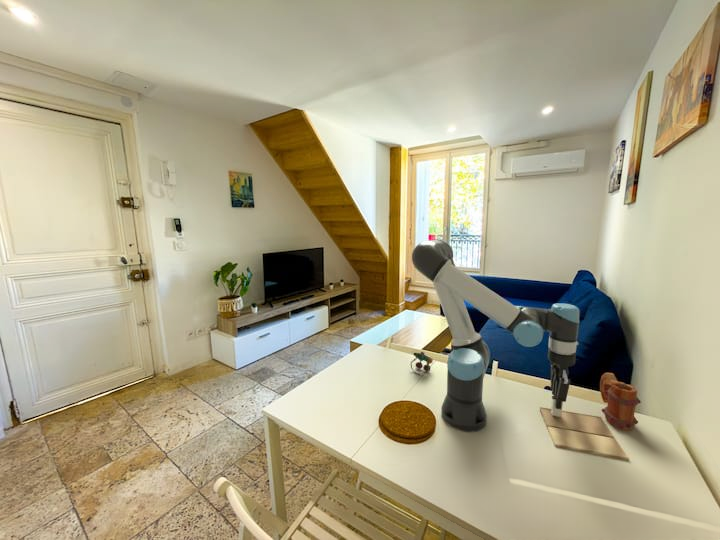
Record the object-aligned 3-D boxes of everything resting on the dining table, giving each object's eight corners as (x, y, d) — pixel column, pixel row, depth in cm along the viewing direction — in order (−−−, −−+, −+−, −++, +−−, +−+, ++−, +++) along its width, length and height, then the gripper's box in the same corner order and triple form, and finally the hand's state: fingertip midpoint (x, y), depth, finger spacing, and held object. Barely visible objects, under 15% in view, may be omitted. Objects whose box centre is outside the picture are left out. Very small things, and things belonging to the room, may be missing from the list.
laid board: (554, 448, 88) (554, 443, 88) (546, 430, 96) (547, 425, 95) (628, 463, 82) (628, 458, 82) (613, 442, 90) (614, 437, 90)
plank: (546, 429, 96) (547, 425, 96) (539, 410, 104) (540, 407, 104) (613, 441, 90) (613, 436, 90) (600, 420, 99) (600, 416, 98)
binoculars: (430, 378, 133) (436, 357, 135) (422, 375, 126) (428, 352, 129) (412, 372, 139) (418, 351, 142) (404, 368, 132) (410, 347, 135)
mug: (643, 436, 92) (649, 393, 89) (613, 433, 94) (619, 390, 91) (613, 408, 106) (618, 369, 104) (587, 405, 108) (592, 368, 105)
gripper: (583, 360, 89) (576, 429, 92) (568, 343, 101) (562, 405, 105) (554, 357, 91) (548, 425, 95) (543, 341, 103) (538, 402, 107)
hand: (556, 414), depth 100 cm, fingers closed
